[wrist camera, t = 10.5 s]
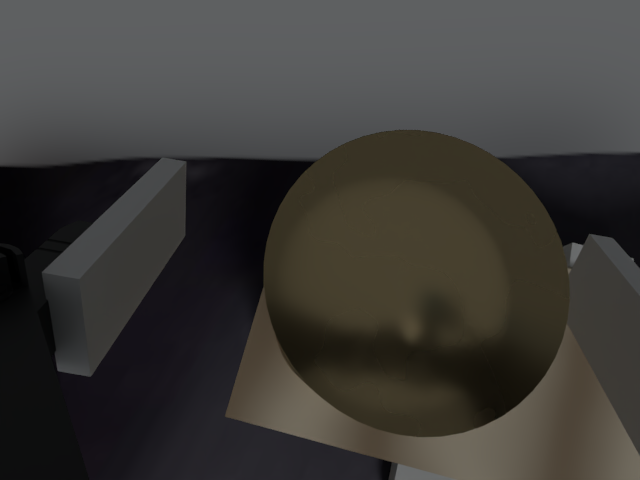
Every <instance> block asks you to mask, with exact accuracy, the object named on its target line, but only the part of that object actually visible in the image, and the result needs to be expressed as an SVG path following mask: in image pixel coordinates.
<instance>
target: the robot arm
mask: <svg viewBox="0 0 640 480" xmlns="http://www.w3.org/2000/svg"><path fill="white" fill-rule="evenodd" d="M185 209H186V162H185V161H180V160H174V159H168V158H162V159H160V160H159V161H158V162H157V163H156V164H155V165H154V166H153V167H152V168H151V169H150V170H149V171H148V172H147V173H146V174H145V175H144V176H143V177H142V178H140V179H139V180H138V181H137V182H136V183H135V184H134V185H133V186H132V187H131V188H130V189H129V190H128V191H127V192H126V193H125V194H124V195H123V196H122V197H120V198H119V199H118V200H117V201H116V202H115V203H114V204H113V205H112V206H111V207H110V208H109V209H108V210H107V211H106V212H105V213H104V214H103V215H102V216H100V217H99V218H98V219H97V220H96V221H95V222H94V223H90V222H85V221H76V222H74V223H72V224H69V225H67V226H65V227H62V228H60V229H59V230H58V231H57V232H56V233H55V234H53V235H52V236H51V237H50V238H49V239H48V241H45V242H44V243H43V244H42V245H41V246H39V248H38V250H35V251H34V252H33V253H31V254H30V255H29V256H28V257H27V258H26V259H24V256H23V253H22V252H21V251H20V249H19V248H17V247H15V246H12V245H10V244H3V243H0V480H89V477H88V474H87V471H86V467H85V464H84V461H83V458H82V455H81V451H80V448H79V445H78V442H77V439H76V435H75V432H74V429H73V426H72V423H71V419H70V416H69V413H68V410H67V406H66V403H65V400H64V397H63V394H62V390H61V387H60V384H59V381H58V378H57V374H56V371H55V368H54V365H53V362H52V358H51V356H52V355H53V354H54V353H55V357H56V364H57V370H58V371H61V372H67V373H72V374H78V375H83V376H89V377H91V376H92V374H93V373H94V371H95V370H96V368H97V367H98V365H99V364H100V362H101V361H102V359H103V358H104V356H105V355H106V353H107V352H108V350H109V349H110V347H111V346H112V344H113V343H114V341H115V340H116V338H117V337H118V335H119V334H120V332H121V331H122V329H123V328H124V326H125V325H126V323H127V322H128V320H129V319H130V317H131V316H132V314H133V313H134V311H135V310H136V308H137V307H138V305H139V304H140V302H141V301H142V299H143V298H144V296H145V295H146V293H147V292H148V290H149V289H150V287H151V286H152V284H153V283H154V281H155V280H156V278H157V277H158V275H159V274H160V272H161V271H162V269H163V268H164V266H165V265H166V263H167V262H168V260H169V259H170V257H171V256H172V254H173V253H174V252H175V250H176V249H177V247H178V246H179V244H180V243H181V241H182V240H183V238H184V237H185ZM569 286H570V303H569V312H568V320H567V324H568V326H569V328H570V330H571V332H572V333H573V335H574V337H575V339H576V341H577V343H578V344H579V346H580V348H581V350H582V352H583V353H584V355H585V357H586V359H587V361H588V363H589V364H590V366H591V368H592V370H593V372H594V374H595V375H596V377H597V379H598V381H599V383H600V384H601V386H602V388H603V390H604V392H605V394H606V395H607V397H608V399H609V401H610V403H611V404H612V406H613V408H614V410H615V412H616V414H617V415H618V417H619V419H620V421H621V423H622V424H623V426H624V428H625V430H626V432H627V434H628V435H629V437H630V439H631V441H632V443H633V445H634V446H635V448H636V450H637V452H638V454H639V455H640V268H639V267H638V266H637V265H636V264H635V262H634V261H633V260H632V259H631V258H630V257H629V256H628V255H627V253H626V252H625V251H624V250H623V249H622V248H621V247H620V246H619V244H618V243H617V242H616V241H615V240H614V239H613V238H610V237H604V236H599V235H593V234H589V235H588V237H587V239H586V241H585V243H584V245H583V247H582V249H581V251H580V253H579V255H578V257H577V259H576V261H575V263H574V265H573V267H572V269H571V271H570V273H569Z"/></svg>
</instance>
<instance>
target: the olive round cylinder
mask: <svg viewBox="0 0 640 480" xmlns="http://www.w3.org/2000/svg"><path fill="white" fill-rule="evenodd" d="M264 290H265V298H266V305H267V309H268V313H269V316H270V320H271V324H272V327H273V330H274V334H275V337H276V340H277V343H278V346H279V349H280V351H281V354H282V356H283V358H284V360H285V361H286V363H287V365H288V366H289V367H290V369H291V370H292V371H293V372H294V373H295V374H296V375H297V376H298V377H299V378H300V379H301V380H302V381H303V382H304V383H305V384H306V385H308V386H309V387H310V388H311V389H312V390H313V391H314V392H315V393H316V394H318V395H319V396H320V397H321V398H322V399H324V400H325V401H326V402H328V403H329V404H330V405H332V406H333V407H334V408H335V409H337V410H338V411H340V412H342V413H343V414H345V415H347V416H349V417H350V418H352V419H354V420H356V421H358V422H360V423H363V424H365V425H368V426H370V427H372V428H375V429H377V430H381V431H385V432H389V433H393V434H397V435H404V436H413V437H442V436H448V435H454V434H459V433H464V432H467V431H470V430H473V429H476V428H479V427H482V426H484V425H486V424H488V423H490V422H492V421H494V420H496V419H498V418H500V417H502V416H503V415H505V414H506V413H508V412H509V411H510V410H512V409H513V408H515V407H516V406H517V405H519V404H520V403H521V402H522V401H523V400H524V399H525V398H526V397H527V396H528V395H529V394H530V393H531V392H532V391H533V390H534V389H535V388H536V386H537V385H538V384H539V383H540V381H541V380H542V379H543V377H544V376H545V375H546V373H547V371H548V370H549V368H550V366H551V364H552V363H553V361H554V359H555V357H556V355H557V352H558V350H559V347H560V345H561V342H562V340H563V336H564V332H565V328H566V324H567V320H568V312H569V303H570V286H569V274H568V267H567V261H566V257H565V254H564V250H563V246H562V243H561V240H560V238H559V235H558V233H557V230H556V228H555V225H554V223H553V221H552V220H551V218H550V216H549V214H548V212H547V211H546V209H545V207H544V206H543V204H542V203H541V201H540V200H539V199H538V197H537V196H536V195H535V193H534V192H533V190H532V189H531V188H530V187H529V186H528V185H527V184H526V183H525V182H524V181H523V180H522V178H521V177H520V176H519V175H517V174H516V173H515V172H514V171H513V170H512V169H510V168H509V167H508V166H507V165H506V164H505V163H503V162H502V161H500V160H499V159H497V158H496V157H494V156H493V155H491V154H490V153H488V152H486V151H484V150H482V149H481V148H479V147H477V146H475V145H473V144H470V143H468V142H465V141H463V140H460V139H458V138H455V137H451V136H448V135H444V134H440V133H435V132H428V131H420V130H395V131H386V132H379V133H375V134H371V135H367V136H363V137H360V138H358V139H355V140H352V141H350V142H347V143H345V144H343V145H341V146H339V147H338V148H336V149H334V150H332V151H330V152H329V153H327V154H326V155H325V156H323V157H322V158H320V159H319V160H317V161H316V162H315V163H314V164H313V165H312V166H310V167H309V168H308V169H307V170H306V171H305V172H304V173H303V174H302V175H301V176H300V177H299V179H298V180H297V181H296V182H295V184H294V185H293V186H292V187H291V188H290V190H289V191H288V193H287V195H286V196H285V198H284V200H283V201H282V203H281V205H280V206H279V209H278V211H277V213H276V215H275V218H274V220H273V222H272V225H271V229H270V232H269V236H268V239H267V243H266V250H265V257H264Z"/></svg>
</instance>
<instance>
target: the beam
mask: <svg viewBox="0 0 640 480" xmlns="http://www.w3.org/2000/svg"><path fill="white" fill-rule="evenodd" d="M570 271H571V269H569V268H568V274H569V273H570ZM225 417H229V418H233V419H236V420H240V421H244V422H247V423H251V424H255V425H258V426H262V427H266V428H269V429H273V430H277V431H280V432H284V433H288V434H291V435H295V436H299V437H302V438H306V439H310V440H313V441H317V442H321V443H324V444H328V445H332V446H335V447H339V448H343V449H346V450H350V451H354V452H357V453H361V454H365V455H368V456H372V457H376V458H379V459H383V460H387V461H390V462H394V463H398V464H401V465H405V466H409V467H412V468H416V469H420V470H423V471H427V472H431V473H434V474H438V475H442V476H445V477H449V478H453V479H456V480H640V455H639V454H638V452H637V450H636V448H635V446H634V445H633V443H632V441H631V439H630V437H629V435H628V434H627V432H626V430H625V428H624V426H623V424H622V423H621V421H620V419H619V417H618V415H617V414H616V412H615V410H614V408H613V406H612V404H611V403H610V401H609V399H608V397H607V395H606V394H605V392H604V390H603V388H602V386H601V384H600V383H599V381H598V379H597V377H596V375H595V374H594V372H593V370H592V368H591V366H590V364H589V363H588V361H587V359H586V357H585V355H584V353H583V352H582V350H581V348H580V346H579V344H578V343H577V341H576V339H575V337H574V335H573V333H572V332H571V330H570V328H569V326H568V324H566V328H565V332H564V336H563V340H562V342H561V345H560V347H559V350H558V352H557V355H556V357H555V359H554V361H553V363H552V364H551V366H550V368H549V370H548V371H547V373H546V375H545V376H544V377H543V379H542V380H541V381H540V383H539V384H538V385H537V386H536V388H535V389H534V390H533V391H532V392H531V393H530V394H529V395H528V396H527V397H526V398H525V399H524V400H523V401H522V402H521V403H520V404H519V405H517V406H516V407H515V408H513V409H512V410H510V411H509V412H508V413H506V414H505V415H503V416H502V417H500V418H498V419H496V420H494V421H492V422H490V423H488V424H486V425H484V426H482V427H479V428H476V429H473V430H470V431H467V432H464V433H459V434H454V435H448V436H442V437H413V436H404V435H397V434H393V433H389V432H385V431H381V430H377V429H375V428H372V427H370V426H368V425H365V424H363V423H360V422H358V421H356V420H354V419H352V418H350V417H349V416H347V415H345V414H343V413H342V412H340V411H338V410H337V409H335V408H334V407H333V406H332V405H330V404H329V403H328V402H326V401H325V400H324V399H322V398H321V397H320V396H319V395H318V394H316V393H315V392H314V391H313V390H312V389H311V388H310V387H309V386H308V385H306V384H305V383H304V382H303V381H302V380H301V379H300V378H299V377H298V376H297V375H296V374H295V373H294V372H293V371H292V370H291V369H290V367H289V366H288V365H287V363H286V361H285V360H284V358H283V356H282V354H281V351H280V349H279V346H278V343H277V340H276V337H275V334H274V330H273V327H272V324H271V320H270V316H269V313H268V309H267V305H266V298H265V290H264V287H263V290H262V293H261V297H260V300H259V304H258V307H257V310H256V314H255V317H254V320H253V324H252V327H251V331H250V334H249V337H248V341H247V344H246V347H245V351H244V354H243V357H242V361H241V364H240V368H239V371H238V374H237V378H236V381H235V384H234V388H233V391H232V395H231V398H230V401H229V405H228V408H227V411H226V415H225Z"/></svg>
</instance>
